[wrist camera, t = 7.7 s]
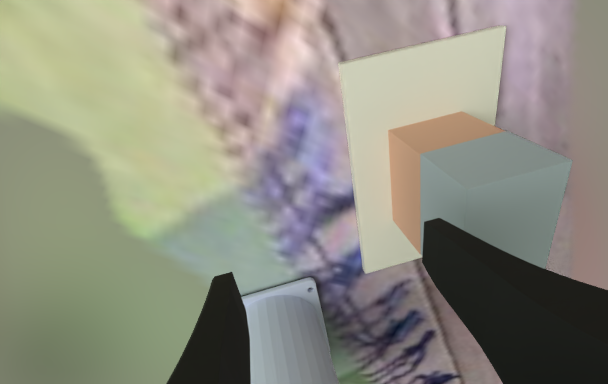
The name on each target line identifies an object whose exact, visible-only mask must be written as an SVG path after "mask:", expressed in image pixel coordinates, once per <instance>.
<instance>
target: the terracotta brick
mask: <svg viewBox="0 0 608 384" xmlns="http://www.w3.org/2000/svg"><path fill="white" fill-rule="evenodd" d="M501 132H505V131H504V130H502V129H500V128H497V127H495V126H493V125H491V124H489V123H486V122H484V121H482V120H480V119H478V118H475V117H473V116H471V115H469V114H466V113H464V112H462V111H461V112H457V113H453V114H449V115H445V116H441V117H438V118H434V119H430V120H426V121H422V122H418V123H414V124H410V125H406V126H402V127H398V128H394V129H390V130H388V139H389V158H390V177H391V196H392V215H393V221H394V222H395V223H396V225H397V226H398V227H399V228H400V230H401V231H402V232H403V234H404V235H405V236H406V237H407V239H408V240H409V241H410V242H411V244H412V245H413V246H414V247H415V249H416V250H417V251H418V252H419V254H421V232H420V154H421V153H425V152H429V151H433V150H436V149H440V148H444V147H448V146H452V145H455V144H459V143H463V142H467V141H471V140H474V139H478V138H482V137H486V136H490V135H493V134H497V133H501Z"/></svg>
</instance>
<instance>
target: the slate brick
mask: <svg viewBox="0 0 608 384" xmlns="http://www.w3.org/2000/svg"><path fill="white" fill-rule="evenodd" d="M572 161H573V160H571V159H569V158H566V157H564V156H562V155H560V154H557V153H555V152H553V151H551V150H549V149H546V148H544V147H542V146H540V145H537V144H535V143H533V142H531V141H529V140H526V139H524V138H522V137H520V136H517V135H515V134H513V133H511V132H508V131H505V132H501V133H497V134H493V135H490V136H486V137H482V138H478V139H474V140H471V141H467V142H463V143H459V144H455V145H452V146H448V147H444V148H440V149H436V150H433V151H429V152H425V153H421V154H420V232H421V255H422V256H423V233H424V222H425V221H429V220H433V219H436V218H441V219H443V220H445V221H447V222H449V223H451V224H453V225H455V226H456V227H458V228H460V229H462V230H464V231H466V232H468V233H469V234H471V235H473V236H475V237H477V238H479V239H481V240H483V241H485V242H487V243H489V244H491V245H493V246H495V247H497V248H499V249H501V250H503V251H505V252H507V253H509V254H511V255H513V256H516V257H518V258H520V259H522V260H525V261H527V262H529V263H531V264H534V265H536V266H539V267H541V268H544V269H545V268H546V264H547V260H548V256H549V252H550V248H551V244H552V240H553V236H554V232H555V228H556V224H557V220H558V216H559V212H560V208H561V204H562V200H563V197H564V193H565V189H566V185H567V181H568V177H569V173H570V169H571V165H572Z"/></svg>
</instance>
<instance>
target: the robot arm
mask: <svg viewBox="0 0 608 384" xmlns="http://www.w3.org/2000/svg"><path fill="white" fill-rule="evenodd" d="M422 263H423V265H424V266H425V268H426V270H427V272H428V274H429V275H430V277H431V279H432V281H433V282H434V284H435V286H436V287H437V288H438V290H439V291H440V292H441V294H442V295H443V297H444V298H445V299H446V301H447V302H448V303H449V305H450V306H451V307H452V309H453V310H454V311H455V313H456V314H457V315H458V316H459V318H460V319H461V320H462V322H463V323H464V324H465V326H466V327H467V328H468V330H469V331H470V332H471V334H472V335H473V336H474V338H475V339H476V341H477V342H478V344H479V345H480V346H481V348H482V349H483V351H484V353H485V354H486V356H487V358H488V359H489V361H490V362H491V364H492V366H493V367H494V369H495V371H496V372H497V374H498V376H499V377H500V379H501V381H502V382H503V384H608V290H605V289H602V288H598V287H595V286H592V285H589V284H586V283H583V282H579V281H576V280H573V279H571V278H568V277H565V276H562V275H559V274H557V273H554V272H552V271H549V270H546V269H544V268H541V267H539V266H536V265H534V264H531V263H529V262H527V261H525V260H522V259H520V258H518V257H516V256H513V255H511V254H509V253H507V252H505V251H503V250H501V249H499V248H497V247H495V246H493V245H491V244H489V243H487V242H485V241H483V240H481V239H479V238H477V237H475V236H473V235H471V234H469V233H468V232H466V231H464V230H462V229H460V228H458V227H456V226H455V225H453V224H451V223H449V222H447V221H445V220H443V219H441V218H436V219H433V220H429V221H425V222H424V233H423V256H422ZM311 287H312V288H311ZM308 288H311V289H308ZM330 351H331V350H330V345H329V341H328V336H327V332H326V327H325V323H324V318H323V314H322V309H321V305H320V301H319V296H318V292H317V287H316V283H315V280H314V279H313V278H310V277H309V278H305V279H301V280H298V281H295V282H291V283H288V284H284V285H281V286H277V287H274V288H270V289H267V290H263V291H260V292H257V293H253V294H250V295H246V296H243V297H241V295H240V293H239V290H238V287H237V284H236V282H235V279H234V276H233V274H232V272H230V273H226V274H222V275H219V276H215V277H214V278H213V280H212V283H211V286H210V289H209V292H208V295H207V298H206V301H205V303H204V306H203V309H202V311H201V314H200V316H199V318H198V321H197V323H196V326H195V328H194V330H193V333H192V335H191V337H190V339H189V341H188V343H187V345H186V348H185V350H184V352H183V354H182V356H181V358H180V360H179V362H178V364H177V366H176V368H175V369H174V371H173V373H172V375H171V377H170V378H169V380H168V382H167V384H339V382H338V378H337V375H336V372H335V369H334V366H333V362H332V359H331V356H330Z"/></svg>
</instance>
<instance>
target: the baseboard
mask: <svg viewBox="0 0 608 384" xmlns="http://www.w3.org/2000/svg"><path fill="white" fill-rule="evenodd" d="M505 33H506V26H495V27H491V28H486V29H482V30H478V31H473V32H469V33H465V34H460V35H456V36H452V37H447V38H443V39H439V40H434V41H430V42H426V43H421V44H417V45H413V46H409V47H404V48H400V49H396V50H391V51H387V52H383V53H378V54H374V55H370V56H365V57H361V58H357V59H352V60H348V61H344V62H339V63H338V67H339V75H340V83H341V92H342V100H343V108H344V117H345V125H346V133H347V142H348V150H349V158H350V167H351V175H352V183H353V192H354V200H355V208H356V217H357V225H358V233H359V242H360V250H361V258H362V267H363V270H364V272H365V274H367V273H370V272H374V271H377V270H381V269H384V268H387V267H391V266H394V265H398V264H401V263H404V262H408V261H411V260H415V259H418V258H422V255H421V254H419V252H418V251H417V250H416V249H415V247H414V246H413V245H412V244H411V242H410V241H409V240H408V239H407V237H406V236H405V235H404V234H403V232H402V231H401V230H400V228H399V227H398V226H397V225H396V223H395V222H394V221H393V215H392V196H391V177H390V158H389V139H388V130H390V129H394V128H398V127H402V126H406V125H410V124H414V123H418V122H422V121H426V120H430V119H434V118H438V117H441V116H445V115H449V114H453V113H457V112H461V111H462V112H464V113H466V114H469V115H471V116H473V117H475V118H478V119H480V120H482V121H484V122H486V123H489V124H491V125H493V126H495V119H496V110H497V102H498V93H499V85H500V76H501V68H502V59H503V50H504V42H505Z"/></svg>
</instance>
